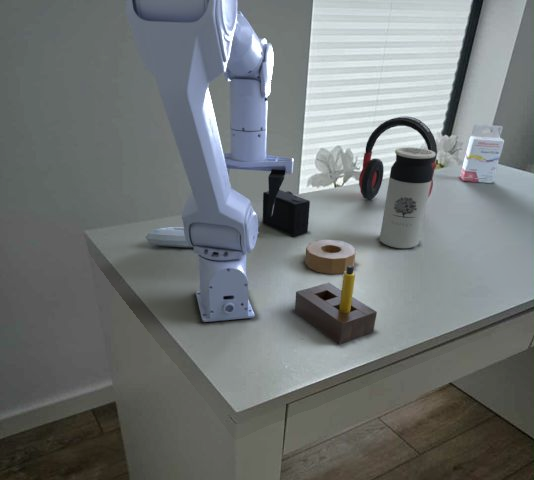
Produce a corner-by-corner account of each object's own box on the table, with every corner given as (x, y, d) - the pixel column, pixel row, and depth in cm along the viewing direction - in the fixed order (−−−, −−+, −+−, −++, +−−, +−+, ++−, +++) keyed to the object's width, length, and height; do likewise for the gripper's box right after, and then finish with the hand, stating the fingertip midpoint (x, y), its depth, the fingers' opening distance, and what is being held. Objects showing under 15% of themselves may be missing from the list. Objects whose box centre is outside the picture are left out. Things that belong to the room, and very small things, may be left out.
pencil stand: (339, 344, 70) (342, 323, 68) (294, 311, 77) (295, 291, 75) (373, 332, 73) (377, 311, 71) (326, 301, 80) (328, 282, 78)
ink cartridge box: (463, 181, 144) (476, 127, 136) (459, 177, 148) (472, 124, 140) (493, 183, 143) (508, 128, 135) (489, 178, 147) (503, 125, 139)
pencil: (349, 330, 73) (358, 268, 67) (339, 331, 73) (347, 269, 67) (345, 325, 74) (353, 263, 69) (335, 326, 74) (343, 264, 68)
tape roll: (360, 272, 90) (362, 256, 88) (313, 275, 88) (315, 260, 87) (343, 252, 97) (345, 238, 96) (299, 255, 96) (300, 241, 94)
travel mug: (386, 232, 107) (401, 145, 97) (422, 240, 104) (442, 150, 94) (373, 243, 102) (388, 152, 92) (411, 252, 98) (430, 158, 88)
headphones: (431, 204, 125) (450, 118, 114) (419, 215, 118) (437, 124, 107) (367, 192, 132) (378, 110, 121) (351, 201, 125) (362, 115, 114)
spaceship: (148, 254, 94) (145, 231, 92) (145, 242, 99) (142, 220, 97) (264, 243, 100) (265, 222, 98) (256, 232, 105) (256, 212, 103)
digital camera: (312, 231, 107) (314, 199, 103) (293, 237, 104) (295, 204, 100) (280, 218, 113) (282, 187, 109) (262, 223, 110) (263, 191, 106)
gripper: (296, 125, 80) (292, 208, 87) (209, 121, 81) (212, 202, 89) (292, 134, 74) (288, 222, 82) (198, 129, 75) (202, 216, 83)
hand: (248, 213), depth 85 cm, fingers open, 7 cm apart
